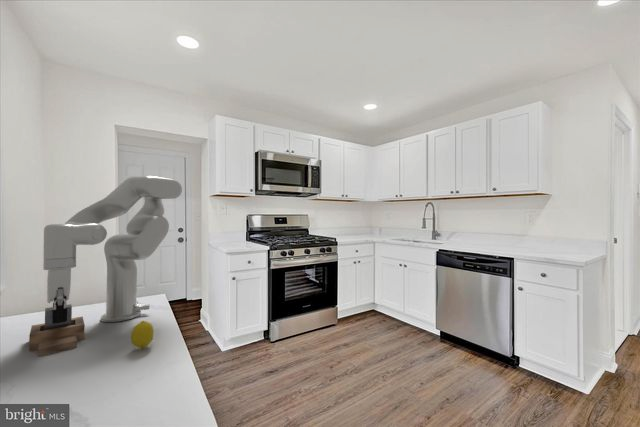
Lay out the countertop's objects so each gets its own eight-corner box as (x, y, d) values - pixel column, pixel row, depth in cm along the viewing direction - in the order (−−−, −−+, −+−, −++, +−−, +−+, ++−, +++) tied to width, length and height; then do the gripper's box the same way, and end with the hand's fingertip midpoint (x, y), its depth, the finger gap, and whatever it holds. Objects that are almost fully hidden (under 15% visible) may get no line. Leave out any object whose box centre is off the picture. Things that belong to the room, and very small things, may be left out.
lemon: (142, 354, 78) (143, 325, 78) (125, 352, 79) (126, 323, 79) (157, 345, 83) (158, 318, 84) (142, 343, 84) (142, 316, 85)
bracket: (70, 335, 90) (71, 304, 91) (71, 338, 88) (71, 306, 88) (44, 340, 86) (45, 308, 87) (44, 344, 84) (45, 310, 84)
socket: (81, 325, 99) (81, 312, 99) (85, 345, 83) (86, 330, 83) (32, 334, 91) (33, 320, 91) (27, 358, 75) (27, 342, 75)
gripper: (44, 261, 92) (43, 314, 91) (42, 268, 79) (41, 329, 79) (74, 259, 97) (74, 308, 96) (77, 265, 84) (77, 322, 84)
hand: (59, 318), depth 88 cm, fingers open, 9 cm apart
